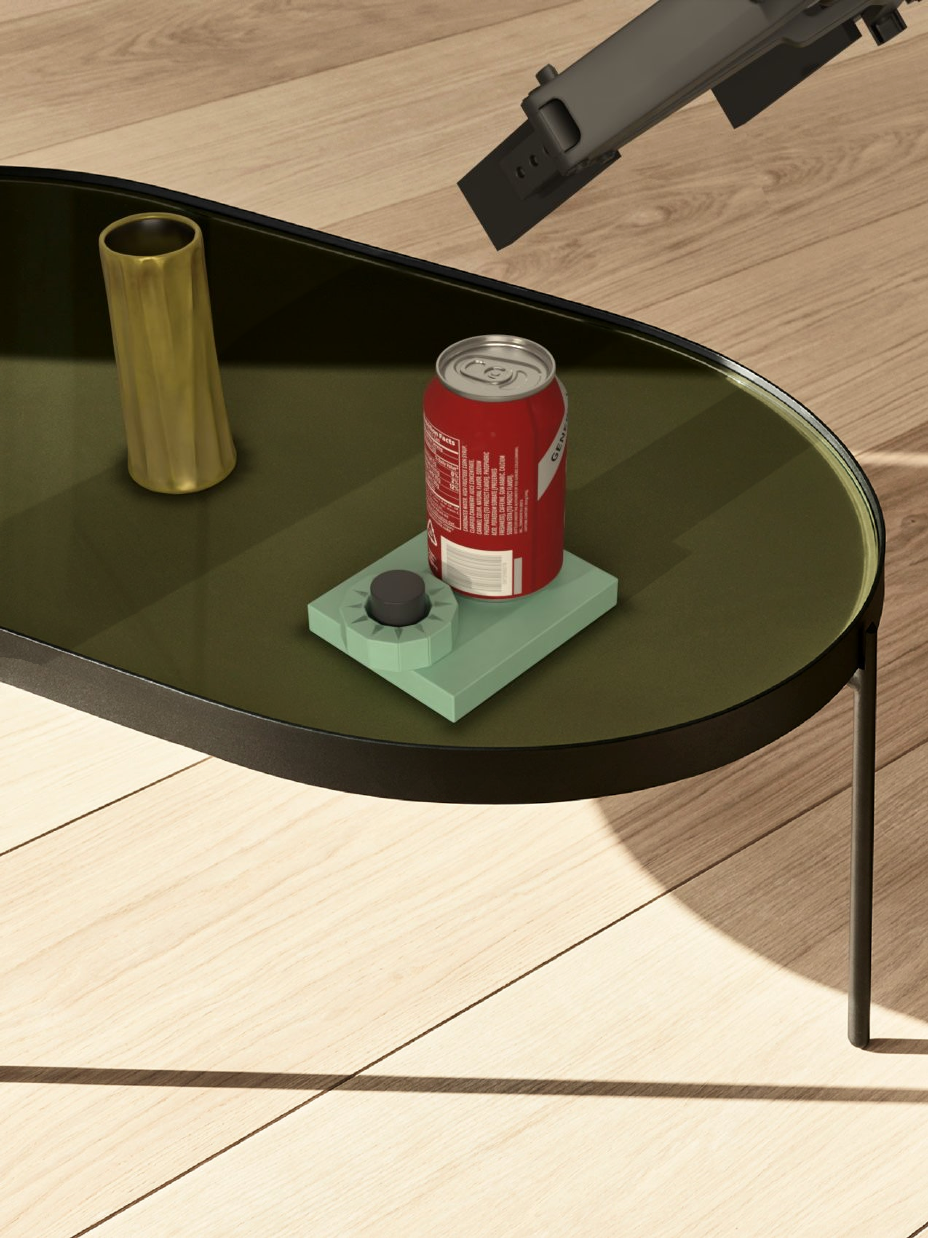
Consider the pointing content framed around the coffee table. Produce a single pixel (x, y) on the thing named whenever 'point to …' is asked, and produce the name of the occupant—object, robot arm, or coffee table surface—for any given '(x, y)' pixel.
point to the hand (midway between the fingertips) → (609, 151)
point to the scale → (459, 629)
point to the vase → (166, 353)
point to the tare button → (398, 598)
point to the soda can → (495, 468)
